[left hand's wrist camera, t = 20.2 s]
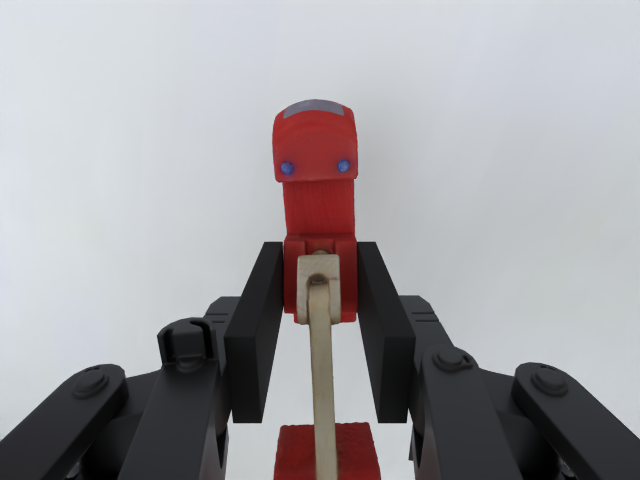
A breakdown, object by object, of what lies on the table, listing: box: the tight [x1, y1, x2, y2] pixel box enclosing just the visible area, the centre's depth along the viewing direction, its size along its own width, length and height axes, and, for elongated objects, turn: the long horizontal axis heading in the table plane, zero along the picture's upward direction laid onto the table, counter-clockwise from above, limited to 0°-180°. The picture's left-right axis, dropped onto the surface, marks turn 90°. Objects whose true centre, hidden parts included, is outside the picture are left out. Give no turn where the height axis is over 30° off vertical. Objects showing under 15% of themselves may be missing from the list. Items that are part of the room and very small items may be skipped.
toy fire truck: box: [272, 99, 381, 480], centre depth 13 cm, size 3×14×10 cm, turn 3°
